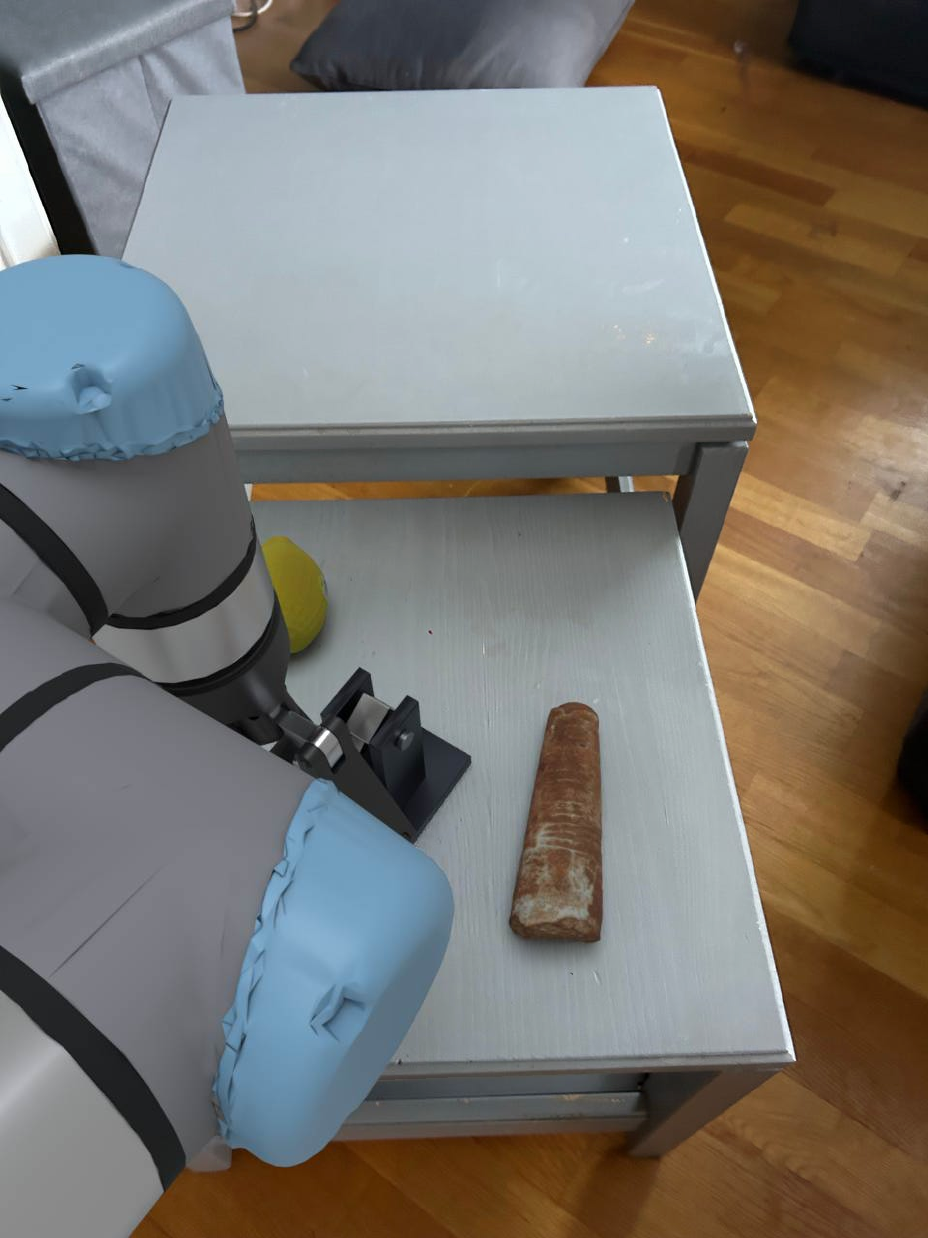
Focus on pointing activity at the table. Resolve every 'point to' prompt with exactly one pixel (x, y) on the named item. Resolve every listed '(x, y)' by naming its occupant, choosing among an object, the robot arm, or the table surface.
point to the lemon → (297, 590)
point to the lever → (367, 720)
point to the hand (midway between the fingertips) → (276, 811)
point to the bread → (563, 835)
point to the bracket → (405, 754)
